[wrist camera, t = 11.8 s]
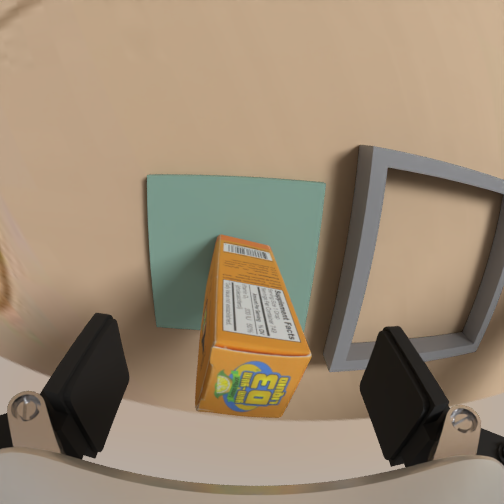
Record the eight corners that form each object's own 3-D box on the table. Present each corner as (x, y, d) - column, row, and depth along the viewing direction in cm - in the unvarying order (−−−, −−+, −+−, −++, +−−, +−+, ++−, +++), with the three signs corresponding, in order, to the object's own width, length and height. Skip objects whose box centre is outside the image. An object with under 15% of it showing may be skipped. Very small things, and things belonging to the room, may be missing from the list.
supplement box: (261, 292, 19) (280, 426, 9) (206, 281, 18) (183, 413, 9) (276, 243, 18) (315, 361, 8) (218, 230, 17) (196, 341, 8)
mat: (323, 182, 17) (325, 183, 16) (302, 328, 20) (303, 332, 20) (149, 174, 16) (146, 175, 16) (158, 322, 20) (156, 326, 19)
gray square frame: (511, 183, 17) (527, 188, 15) (465, 339, 22) (475, 351, 21) (359, 144, 16) (373, 146, 14) (322, 354, 21) (329, 372, 20)
